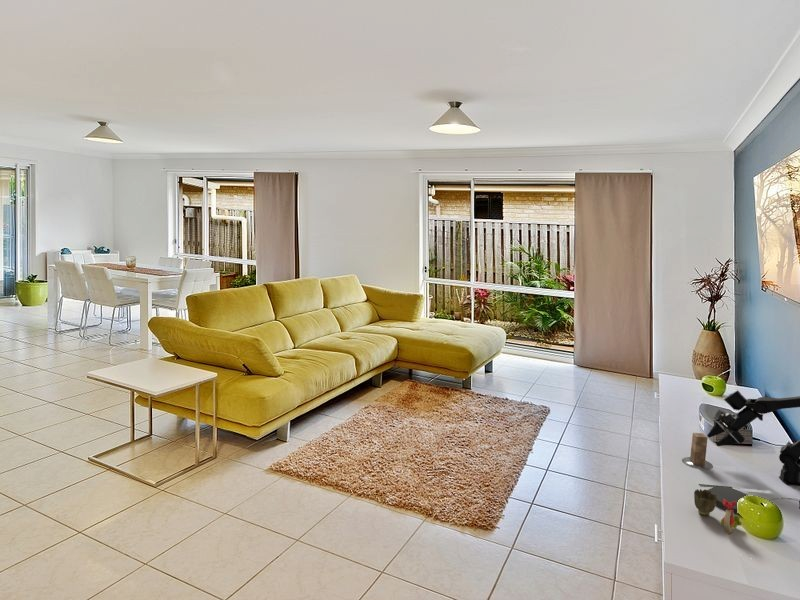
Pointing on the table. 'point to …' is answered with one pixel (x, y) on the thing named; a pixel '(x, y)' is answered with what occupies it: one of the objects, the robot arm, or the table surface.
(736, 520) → the bird rattle
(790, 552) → the table surface
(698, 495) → the cup
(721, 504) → the media streaming box
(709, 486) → the rubber mat
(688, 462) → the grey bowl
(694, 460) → the walnut block
